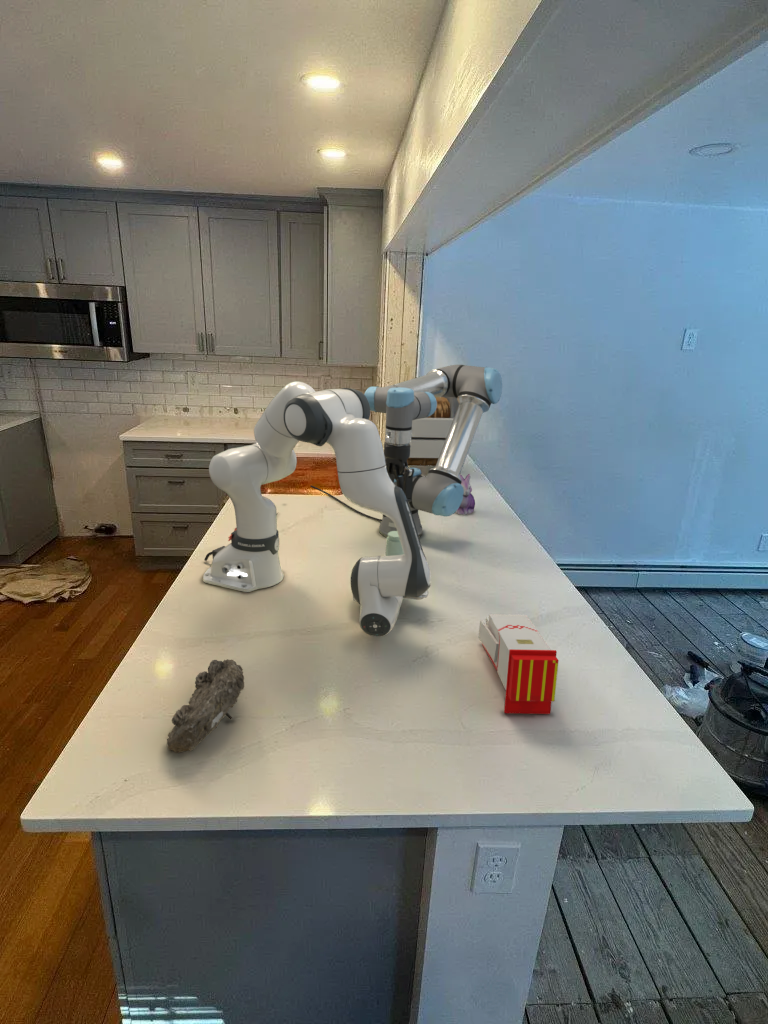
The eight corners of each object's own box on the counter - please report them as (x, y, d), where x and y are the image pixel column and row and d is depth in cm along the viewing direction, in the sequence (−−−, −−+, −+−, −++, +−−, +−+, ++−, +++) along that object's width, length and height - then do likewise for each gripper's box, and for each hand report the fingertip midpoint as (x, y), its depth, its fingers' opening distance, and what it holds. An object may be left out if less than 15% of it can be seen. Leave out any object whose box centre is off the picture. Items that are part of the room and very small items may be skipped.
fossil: (192, 660, 117) (244, 628, 112) (224, 691, 120) (276, 661, 115) (142, 746, 98) (202, 712, 93) (182, 779, 101) (242, 748, 96)
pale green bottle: (387, 588, 161) (390, 529, 155) (404, 591, 159) (407, 532, 153) (381, 595, 156) (384, 535, 150) (398, 599, 155) (402, 538, 149)
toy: (524, 600, 137) (567, 656, 108) (520, 651, 140) (560, 720, 111) (474, 599, 137) (504, 655, 107) (471, 650, 140) (498, 719, 110)
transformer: (382, 463, 289) (386, 382, 275) (445, 464, 293) (451, 384, 279) (390, 482, 257) (394, 392, 243) (460, 483, 261) (468, 394, 247)
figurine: (461, 516, 219) (465, 479, 214) (447, 508, 227) (450, 472, 222) (481, 513, 223) (485, 477, 218) (466, 505, 231) (469, 470, 226)
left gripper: (428, 587, 141) (432, 564, 154) (347, 578, 144) (359, 556, 157) (426, 609, 143) (431, 585, 156) (347, 600, 146) (358, 577, 159)
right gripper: (368, 438, 167) (365, 512, 174) (407, 451, 153) (402, 531, 160) (388, 435, 171) (385, 508, 179) (429, 449, 157) (423, 527, 165)
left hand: (394, 570), depth 157 cm, fingers closed on pale green bottle, 5 cm apart
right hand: (393, 519), depth 169 cm, fingers closed on lid, 6 cm apart
